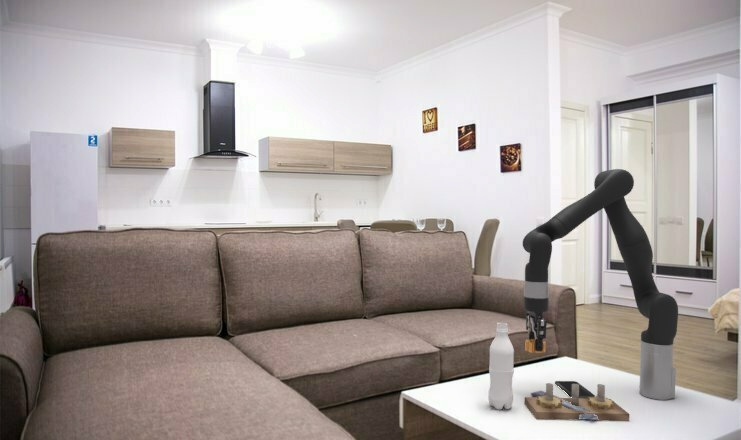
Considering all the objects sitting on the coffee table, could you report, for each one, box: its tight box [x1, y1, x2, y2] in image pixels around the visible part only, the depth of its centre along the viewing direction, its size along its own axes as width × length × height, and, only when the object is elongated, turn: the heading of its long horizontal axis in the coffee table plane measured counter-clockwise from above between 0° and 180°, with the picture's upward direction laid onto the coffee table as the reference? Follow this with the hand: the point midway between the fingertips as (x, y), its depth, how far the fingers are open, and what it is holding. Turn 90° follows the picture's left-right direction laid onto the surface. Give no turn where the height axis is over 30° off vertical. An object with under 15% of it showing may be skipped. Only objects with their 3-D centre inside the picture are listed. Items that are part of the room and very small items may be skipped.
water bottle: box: [488, 321, 515, 410], centre depth 158 cm, size 7×7×25 cm
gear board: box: [524, 382, 630, 422], centre depth 155 cm, size 26×12×8 cm, turn 90°
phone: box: [554, 380, 596, 398], centre depth 174 cm, size 8×1×15 cm
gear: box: [524, 338, 547, 354], centre depth 167 cm, size 6×6×3 cm
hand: (535, 348), depth 167 cm, fingers closed on gear, 6 cm apart
